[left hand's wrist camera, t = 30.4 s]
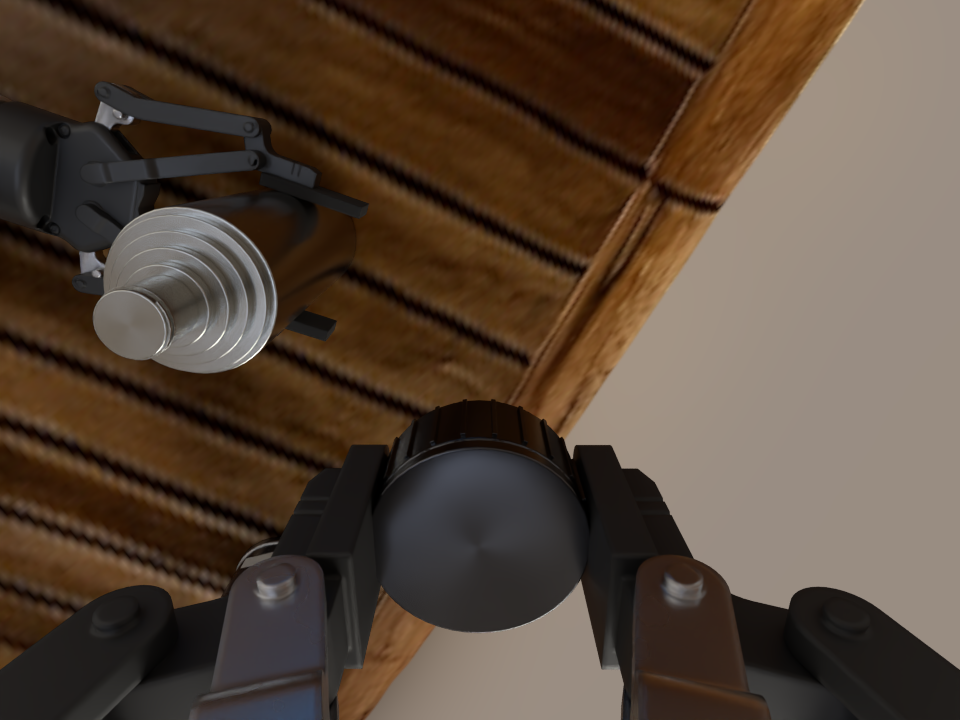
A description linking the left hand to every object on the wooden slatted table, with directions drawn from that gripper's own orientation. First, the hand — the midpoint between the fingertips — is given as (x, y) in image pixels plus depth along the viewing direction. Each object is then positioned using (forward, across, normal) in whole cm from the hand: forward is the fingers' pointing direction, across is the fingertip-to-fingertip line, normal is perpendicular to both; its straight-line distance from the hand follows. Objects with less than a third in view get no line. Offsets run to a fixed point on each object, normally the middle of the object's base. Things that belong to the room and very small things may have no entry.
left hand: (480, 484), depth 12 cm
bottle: (+36, +14, 0) cm, 38 cm away
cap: (-2, 0, 0) cm, 2 cm away
